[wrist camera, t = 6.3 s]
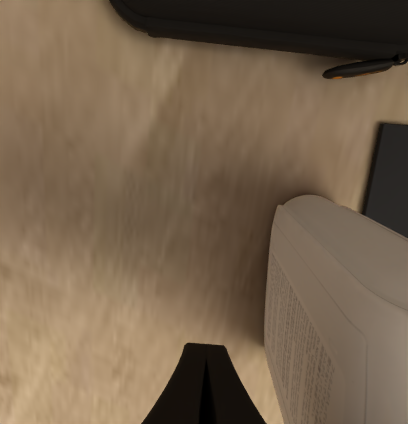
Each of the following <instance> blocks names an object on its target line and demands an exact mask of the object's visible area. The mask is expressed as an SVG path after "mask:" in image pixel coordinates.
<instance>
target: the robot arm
mask: <svg viewBox="0 0 408 424" xmlns="http://www.w3.org/2000/svg"><path fill="white" fill-rule="evenodd" d="M141 424H266V422H265V421H264V419H263V418H262V416H261V415H260V413H259V412H258V410H257V408H256V407H255V405H254V404H253V402H252V400H251V399H250V397H249V395H248V393H247V391H246V390H245V388H244V386H243V384H242V382H241V380H240V378H239V377H238V375H237V372H236V370H235V368H234V366H233V364H232V362H231V359H230V357H229V354H228V352H227V349H226V348H225V346H224V345H212V344H199V343H187V344H186V345H184V349H183V352H182V355H181V358H180V360H179V362H178V365H177V367H176V369H175V371H174V373H173V375H172V376H171V378H170V380H169V382H168V384H167V386H166V387H165V389H164V391H163V392H162V394H161V395H160V397H159V399H158V400H157V402H156V403H155V405H154V406H153V408H152V409H151V411H150V412H149V414H148V415H147V417H146V418H145V419H144V421H143V422H142V423H141Z"/></svg>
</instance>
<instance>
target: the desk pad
mask: <svg viewBox="0 0 408 424" xmlns="http://www.w3.org/2000/svg"><path fill="white" fill-rule="evenodd" d="M362 215H364V216H366V217H368V218H370V219H372V220H374V221H375V222H377V223H379V224H381V225H383V226H385V227H387V228H388V229H391V230H393V231H395V232H397V233H399V234H400V235H402V236H404V237H406V238H408V125H399V124H387V123H381V124H380V127H379V132H378V137H377V142H376V147H375V152H374V157H373V162H372V167H371V172H370V177H369V181H368V186H367V191H366V196H365V201H364V206H363V211H362Z"/></svg>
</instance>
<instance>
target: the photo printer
mask: <svg viewBox="0 0 408 424" xmlns="http://www.w3.org/2000/svg"><path fill="white" fill-rule="evenodd" d="M264 345H265V353H266V358H267V363H268V367H269V370H270V374H271V377H272V381H273V384H274V388H275V392H276V395H277V399H278V402H279V406H280V410H281V414H282V417H283V421H284V424H408V238H406V237H404V236H402V235H400V234H399V233H397V232H395V231H393V230H391V229H388V228H387V227H385V226H383V225H381V224H379V223H377V222H375V221H374V220H372V219H370V218H368V217H366V216H364V215H362V214H360V213H358V212H356V211H354V210H352V209H350V208H348V207H345V206H339V205H337V204H335V203H334V202H332V201H330V200H328V199H326V198H324V197H321V196H317V195H302V196H298V197H295V198H293V199H291V200H289V201H287V202H286V203H285V204H284V205H278V207H277V209H276V212H275V216H274V220H273V225H272V231H271V239H270V248H269V260H268V272H267V285H266V301H265V318H264Z"/></svg>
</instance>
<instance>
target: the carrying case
mask: <svg viewBox="0 0 408 424" xmlns="http://www.w3.org/2000/svg"><path fill="white" fill-rule="evenodd" d="M109 1H110V3H111V5H112V6H113V8H114V9H115V11H116V12H117V13H118V15H119V16H120V17H121V18H122V19H123V20H124V21H125V22H126V23H127V24H129V25H130V26H131V27H133V28H135V29H136V30H139V31H142V32H144V33H148V35H149V36H151V37H154V38H157V37H163V38H172V39H181V40H190V41H198V42H207V43H216V44H225V45H234V46H242V47H251V48H260V49H269V50H278V51H287V52H295V53H304V54H313V55H322V56H331V57H339V58H348V59H357V60H366V61H362V62H356V63H351V64H346V65H341V66H337V67H333V68H330V69H328V70H326V71H325V72H324V73H323V74H322V76H323V77H324V78H327V79H340V78H347V77H356V76H362V75H368V74H374V73H378V72H382V71H386V70H388V69H389V68H391V67H392V66H393V65H394V66H397V65H403V64H406V63H407V62H408V0H109ZM403 60H405V61H404V62H402V63H400V62H401V61H403Z"/></svg>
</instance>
